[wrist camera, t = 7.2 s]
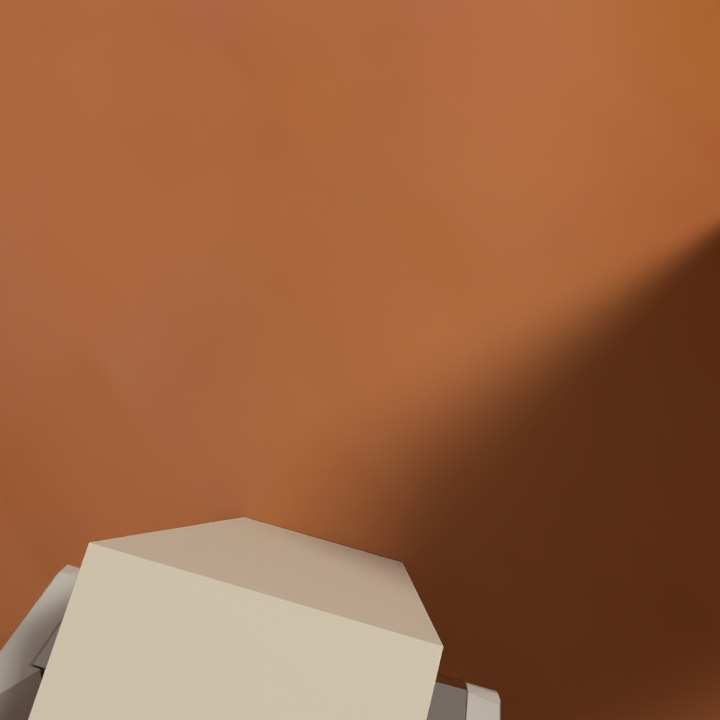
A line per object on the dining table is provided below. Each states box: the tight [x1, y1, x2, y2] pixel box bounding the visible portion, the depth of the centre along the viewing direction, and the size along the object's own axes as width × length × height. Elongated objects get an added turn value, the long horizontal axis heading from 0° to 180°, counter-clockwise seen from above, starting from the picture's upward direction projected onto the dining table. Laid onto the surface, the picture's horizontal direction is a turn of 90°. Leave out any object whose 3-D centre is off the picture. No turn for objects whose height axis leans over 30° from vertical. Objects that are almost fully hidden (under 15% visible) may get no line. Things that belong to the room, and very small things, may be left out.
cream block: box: [28, 517, 443, 720], centre depth 11 cm, size 4×4×9 cm
